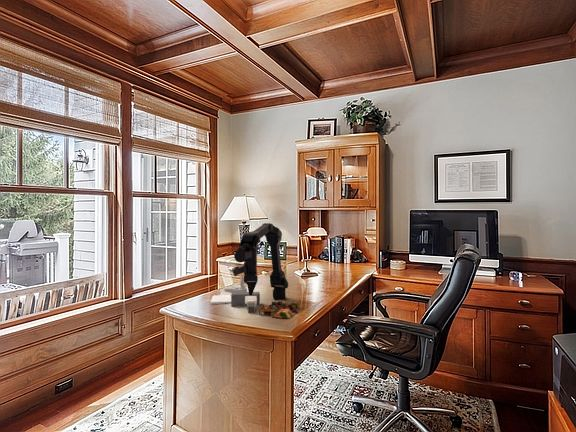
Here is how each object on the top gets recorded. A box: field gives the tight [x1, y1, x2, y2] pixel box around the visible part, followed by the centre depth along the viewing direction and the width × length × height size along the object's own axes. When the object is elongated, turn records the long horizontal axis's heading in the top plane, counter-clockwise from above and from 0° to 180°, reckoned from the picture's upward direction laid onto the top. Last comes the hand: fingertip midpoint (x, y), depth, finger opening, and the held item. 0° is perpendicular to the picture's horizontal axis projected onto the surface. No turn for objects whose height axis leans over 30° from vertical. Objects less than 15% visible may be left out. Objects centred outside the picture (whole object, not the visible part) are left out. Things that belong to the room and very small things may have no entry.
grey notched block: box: [230, 291, 261, 307], centre depth 181 cm, size 14×5×6 cm, turn 97°
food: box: [256, 300, 301, 319], centre depth 169 cm, size 22×19×4 cm
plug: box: [246, 298, 256, 314], centre depth 173 cm, size 4×12×4 cm, turn 7°
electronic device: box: [223, 275, 248, 293], centre depth 209 cm, size 5×10×15 cm
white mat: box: [209, 294, 231, 305], centre depth 189 cm, size 12×14×1 cm
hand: (250, 293), depth 162 cm, fingers open, 9 cm apart
